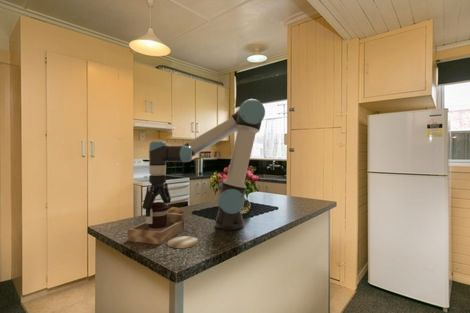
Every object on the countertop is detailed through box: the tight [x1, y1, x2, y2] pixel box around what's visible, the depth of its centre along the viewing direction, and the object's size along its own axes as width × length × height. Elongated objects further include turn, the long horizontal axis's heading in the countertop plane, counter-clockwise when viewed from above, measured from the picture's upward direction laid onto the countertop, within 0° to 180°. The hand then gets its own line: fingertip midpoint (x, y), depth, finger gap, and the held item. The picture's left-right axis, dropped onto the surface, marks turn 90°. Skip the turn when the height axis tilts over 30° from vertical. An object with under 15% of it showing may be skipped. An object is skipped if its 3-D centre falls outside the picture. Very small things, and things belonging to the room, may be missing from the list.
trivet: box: [166, 235, 199, 249], centre depth 111 cm, size 13×13×1 cm
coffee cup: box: [148, 201, 170, 232], centre depth 121 cm, size 10×10×15 cm
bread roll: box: [168, 206, 184, 214], centre depth 154 cm, size 10×10×8 cm
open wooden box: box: [127, 213, 185, 245], centre depth 121 cm, size 16×21×8 cm
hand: (157, 219), depth 121 cm, fingers open, 13 cm apart
